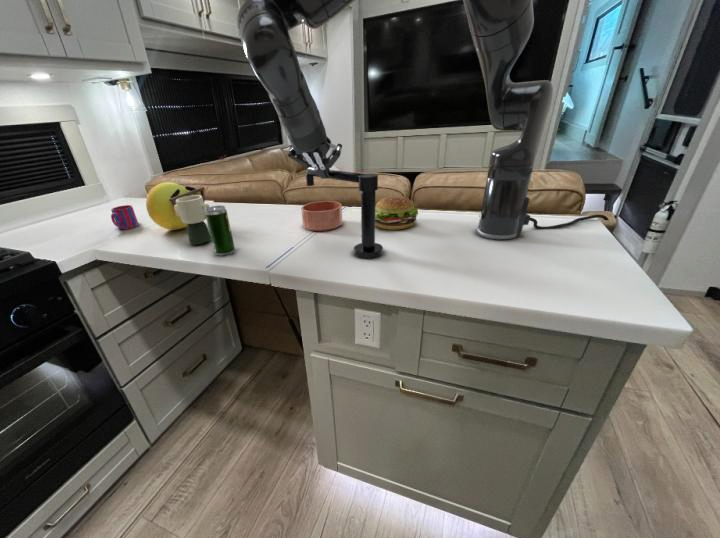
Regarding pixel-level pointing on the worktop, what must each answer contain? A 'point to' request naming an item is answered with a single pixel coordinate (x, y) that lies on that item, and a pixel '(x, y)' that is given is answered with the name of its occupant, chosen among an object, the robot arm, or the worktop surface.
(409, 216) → the food
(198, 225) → the character mug
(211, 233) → the beer can
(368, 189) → the spout
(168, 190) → the emoji
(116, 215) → the cup
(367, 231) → the faucet base
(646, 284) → the worktop surface
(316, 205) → the basin
